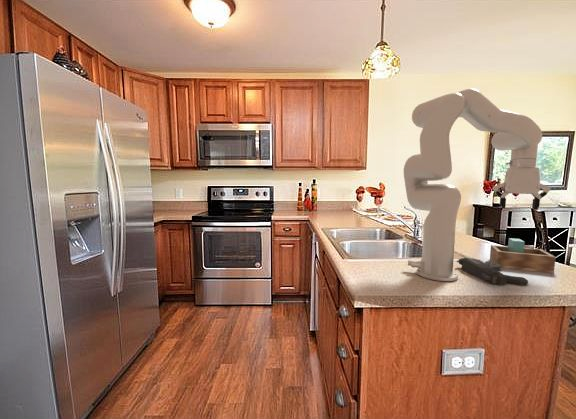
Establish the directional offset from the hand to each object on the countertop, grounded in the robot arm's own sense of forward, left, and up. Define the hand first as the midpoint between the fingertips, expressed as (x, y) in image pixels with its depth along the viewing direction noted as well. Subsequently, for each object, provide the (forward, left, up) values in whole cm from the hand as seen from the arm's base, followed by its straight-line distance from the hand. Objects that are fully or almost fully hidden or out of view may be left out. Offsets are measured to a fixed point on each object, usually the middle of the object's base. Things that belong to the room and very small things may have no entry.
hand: (518, 208), depth 105 cm
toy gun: (-11, -20, -23) cm, 32 cm away
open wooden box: (+1, -1, -22) cm, 22 cm away
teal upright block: (0, -1, -21) cm, 21 cm away
